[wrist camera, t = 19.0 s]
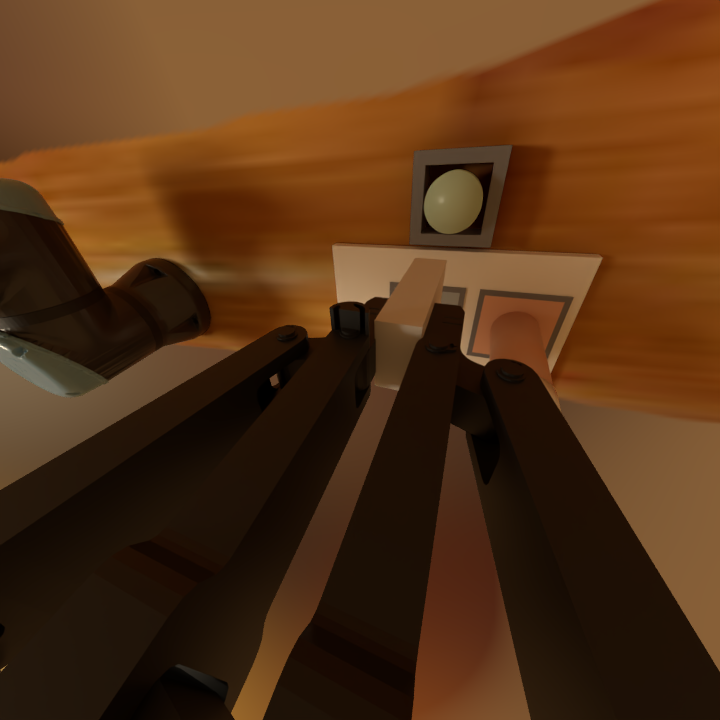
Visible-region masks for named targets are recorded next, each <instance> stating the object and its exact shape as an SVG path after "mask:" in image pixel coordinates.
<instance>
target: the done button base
mask: <svg viewBox="0 0 720 720" xmlns="http://www.w3.org/2000/svg"><path fill="white" fill-rule="evenodd" d="M511 150H512V145H502V146H485V147H469V148H453V149H436V150H420V151H414V163H413V182H412V202H411V222H410V241H409V244H412V245H437V246H461V247H486V248H490V247H491V243H492V238H493V233H494V229H495V224H496V219H497V215H498V210H499V205H500V201H501V196H502V191H503V187H504V182H505V177H506V173H507V168H508V163H509V159H510V154H511ZM488 162H494V164H493V169H492V175H491V180H490V185H489V191H488V196H487V201H486V206H485V212H484V217H483V222H482V228H466V229H465V230H463V231H461V232H458V233H454V234H444V233H441V232H438V231H437V230H435V229H434V228H432V227H425V226H426V216H425V212H424V201H425V197H426V194H427V191H428V189H429V177H430V165H443V164H465V163H488Z"/></svg>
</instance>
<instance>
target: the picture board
mask: <svg viewBox="0 0 720 720" xmlns="http://www.w3.org/2000/svg"><path fill="white" fill-rule="evenodd" d="M332 251H333V260H334V270H335V280H336V289H337V299H338V303H340V302H347V301H354V302H360V303H363V304H365V303H366V302H367V301H368V300H370V299H372V298H374V297H383V298H389V297H390V296H391V294H392V293H393V291H394V290H395V288H396V287H397V285H398V284H399V282H400V281H401V279H402V277H403V276H404V274H405V273H406V271H407V270H408V268H409V267H410V265H411V264H412V262H413V261H414V259H415V258H425V259H439V260H447V263H446V270H445V277H444V283H443V290H442V297H441V304H450V305H458V306H461V307H462V309H463V310H464V311H465V317H464V324H463V331H462V338H461V345H460V348H461V351H462V353H463V354H464V355H465V356H466V357H467V358H468V359H470V360H471V361H473V362H476V363H478V364H481V365H483V366H485V365H486V364H487V363H488V362H489V359H490V331H491V326H492V324H493V322H494V321H495V320H496V319H497V318H498V317H500V316H501V315H503V314H505V313H509V312H514V311H519V312H525V313H527V314H530V315H531V316H533V317H534V318H535V319H536V321H537V322H538V325H539V329H540V333H541V337H542V341H543V345H544V349H545V353H546V357H547V361H548V365H549V369H550V374H551V372H552V369H553V367H554V365H555V363H556V361H557V358H558V356H559V354H560V352H561V349H562V347H563V345H564V343H565V341H566V338H567V336H568V334H569V332H570V329H571V327H572V325H573V323H574V321H575V318H576V316H577V314H578V312H579V309H580V307H581V305H582V303H583V301H584V298H585V296H586V294H587V292H588V290H589V287H590V285H591V283H592V281H593V278H594V276H595V274H596V272H597V270H598V267H599V265H600V263H601V261H602V257H601V256H600V255H599V254H582V253H558V252H535V251H511V250H488V249H465V248H441V247H418V246H394V245H371V244H347V243H335V244H334V245H332Z"/></svg>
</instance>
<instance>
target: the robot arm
mask: <svg viewBox="0 0 720 720" xmlns="http://www.w3.org/2000/svg"><path fill="white" fill-rule="evenodd" d="M63 225H64V224H63V222H62V221H61V220H60V219H58V218H57V217H56V215H55V214H54V212H53V211H52V210H51V208H50V207H49V205H48V204H47V202H46V201H45V199H44V198H43V197H42V195H41V194H40V193H39V192H38V191H37V190H36V189H34V188H33V187H31V186H30V185H28V184H26V183H23V182H21V181H17V180H12V179H6V178H0V362H1V363H3V364H4V365H5V366H7V367H8V368H10V369H11V370H13V371H14V372H15V373H17V374H18V375H20V376H22V377H23V378H25V379H26V380H28V381H30V382H31V383H33V384H35V385H37V386H39V387H40V388H43V389H44V390H46V391H48V392H51V393H53V394H56V395H59V396H62V397H78V396H81V395H84V394H86V393H87V392H89V391H91V390H93V389H95V388H97V387H99V386H101V385H102V384H106V383H108V381H109V380H111V379H112V378H114V377H115V376H117V375H119V374H120V373H122V372H123V371H125V370H127V369H128V368H130V367H131V366H133V365H134V364H136V363H138V362H139V361H141V360H142V359H144V358H146V357H147V356H149V355H150V354H152V353H153V352H155V351H157V350H158V349H160V348H162V347H164V346H167V345H171V344H175V343H179V342H183V341H187V340H191V339H194V338H196V337H198V336H200V335H201V334H203V333H204V332H205V331H207V329H208V328H209V325H210V312H209V308H208V305H207V303H206V301H205V298H204V297H203V295H202V293H201V292H200V290H199V289H198V287H197V286H196V284H195V283H194V282H193V281H192V280H191V279H190V278H189V277H188V276H187V275H186V274H185V273H184V272H183V271H182V270H181V269H179V268H178V267H176V266H175V265H173V264H172V263H170V262H168V261H165V260H162V259H157V258H152V259H148V260H146V261H143V262H140V263H138V264H136V265H134V266H133V267H132V268H131V269H130V270H129V271H128V272H126V273H125V274H124V275H123V276H122V277H121V278H120V279H118V280H117V281H116V282H115V283H114V284H113V285H111V286H109V287H107V288H104V289H102V287H101V286H100V284H99V282H98V281H97V279H96V278H95V276H94V274H93V273H92V271H91V270H90V268H89V266H88V265H87V263H86V262H85V260H84V258H83V257H82V255H81V254H80V252H79V250H78V249H77V247H76V246H75V244H74V242H73V241H72V239H71V238H70V236H69V234H68V233H67V231H66V230H65V228H64V226H63ZM446 263H447V260H439V259H425V258H415V259H414V261H413V262H412V264H411V265H410V267H409V268H408V270H407V271H406V273H405V274H404V276H403V277H402V279H401V281H400V282H399V284H398V285H397V287H396V288H395V290H394V291H393V293H392V294H391V296H390V297H389V298H383V297H374V298H372V299H370V300H368V301H367V302H366V303H365V304H363V303H360V302H354V301H347V302H340V303H337V304H334V305H333V306H331V307H330V317H331V326H332V330H331V332H330V333H329V334H328V335H327V336H326V337H324V338H308V334H307V331H306V329H305V328H303V327H301V326H296V325H286V326H283V327H279V328H277V329H275V330H273V331H271V332H269V333H268V334H266V335H264V336H263V337H261V338H259V339H257V340H256V341H254V342H252V343H251V344H249V345H247V346H245V347H244V348H242V349H240V350H239V351H237V352H235V353H234V354H232V355H230V356H228V357H227V358H225V359H223V360H222V361H220V362H218V363H216V364H215V365H213V366H211V367H210V368H208V369H206V370H205V371H203V372H201V373H200V374H198V375H196V376H195V377H193V378H191V379H189V380H187V381H186V382H184V383H182V384H181V385H179V386H177V387H176V388H174V389H172V390H170V391H169V392H167V393H166V394H164V395H162V396H160V397H158V398H157V399H155V400H154V401H152V402H150V403H148V404H147V405H145V406H143V407H141V408H140V409H138V410H136V411H135V412H133V413H131V414H130V415H128V416H126V417H124V418H123V419H121V420H119V421H117V422H116V423H114V424H112V425H111V426H109V427H107V428H106V429H104V430H102V431H100V432H99V433H97V434H95V435H94V436H92V437H90V438H89V439H87V440H85V441H83V442H82V443H80V444H78V445H77V446H75V447H73V448H72V449H70V450H68V451H66V452H65V453H63V454H61V455H59V456H58V457H56V458H54V459H53V460H51V461H49V462H48V463H46V464H44V465H42V466H41V467H39V468H37V469H36V470H34V471H32V472H31V473H29V474H27V475H25V476H24V477H22V478H20V479H19V480H17V481H15V482H13V483H12V484H10V485H8V486H7V487H5V488H3V489H2V490H0V669H2V668H3V667H5V666H6V665H7V666H6V667H5V668H4V669H3V670H2V671H1V670H0V720H235V719H234V718H233V716H232V715H231V712H232V709H233V707H234V705H235V703H236V701H237V698H238V696H239V694H240V692H241V689H242V687H243V685H244V683H245V681H246V679H247V676H248V674H249V672H250V670H251V668H252V665H253V663H254V660H255V658H256V655H257V653H258V650H259V647H260V643H261V640H262V635H263V628H264V622H265V619H266V616H267V613H268V611H269V608H270V606H271V604H272V602H273V599H274V598H275V595H276V593H277V591H278V589H279V587H280V585H281V583H282V581H283V578H284V576H285V574H286V572H287V570H288V568H289V565H290V563H291V561H292V559H293V557H294V555H295V553H296V551H297V549H298V547H299V544H300V542H301V540H302V538H303V536H304V534H305V532H306V530H307V528H308V525H309V523H310V521H311V519H312V517H313V515H314V513H315V510H316V508H317V506H318V504H319V502H320V500H321V498H322V495H323V494H324V491H325V489H326V487H327V485H328V483H329V481H330V479H331V477H332V474H333V472H334V470H335V468H336V466H337V464H338V462H339V460H340V458H341V455H342V453H343V451H344V449H345V447H346V445H347V443H348V441H349V438H350V436H351V434H352V432H353V430H354V428H355V426H356V423H357V421H358V419H359V417H360V415H361V413H362V411H363V409H364V407H365V404H366V402H367V400H368V398H369V396H370V392H371V381H372V379H373V377H374V375H375V386H379V387H384V388H389V389H393V390H398V393H397V396H396V399H395V402H394V404H393V407H392V410H391V412H390V415H389V417H388V420H387V423H386V425H385V428H384V431H383V434H382V436H381V439H380V442H379V444H378V447H377V450H376V453H375V455H374V458H373V460H372V463H371V466H370V469H369V471H368V474H367V476H366V480H365V482H364V485H363V487H362V490H361V493H360V495H359V498H358V501H357V503H356V506H355V509H354V511H353V514H352V517H351V520H350V522H349V525H348V527H347V530H346V533H345V536H344V538H343V541H342V544H341V547H340V549H339V552H338V554H337V557H336V560H335V562H334V565H333V568H332V571H331V573H330V576H329V578H328V581H327V584H326V586H325V589H324V592H323V595H322V597H321V600H320V602H319V605H318V607H317V610H316V612H315V614H314V616H313V618H312V620H311V622H310V623H309V624H308V626H307V627H306V628H305V630H304V631H303V632H302V634H301V635H300V636H299V638H298V640H297V642H296V643H295V645H294V648H293V649H292V651H291V653H290V655H289V657H288V659H287V662H286V664H285V666H284V668H283V671H282V673H281V676H280V678H279V680H278V682H277V685H276V688H275V690H274V692H273V695H272V698H271V700H270V703H269V705H268V708H267V710H266V713H265V716H264V718H263V720H411V719H412V709H413V700H414V685H415V684H414V683H415V671H416V662H417V655H418V647H419V640H420V633H421V626H422V619H423V612H424V604H425V598H426V591H427V584H428V577H429V570H430V563H431V556H432V549H433V541H434V535H435V528H436V521H437V514H438V506H439V500H440V493H441V486H442V479H443V472H444V464H445V457H446V451H447V443H448V436H449V429H450V423H451V424H453V425H455V426H457V427H459V428H461V429H463V430H465V431H466V439H467V444H468V448H469V452H470V457H471V461H472V465H473V470H474V474H475V478H476V483H477V487H478V492H479V496H480V500H481V505H482V509H483V513H484V518H485V522H486V526H487V531H488V535H489V539H490V543H491V548H492V552H493V557H494V561H495V565H496V570H497V573H498V578H499V582H500V587H501V591H502V596H503V600H504V604H505V609H506V613H507V617H508V621H509V626H510V631H511V635H512V639H513V644H514V648H515V652H516V657H517V661H518V665H519V670H520V674H521V678H522V683H523V687H524V691H525V695H526V700H527V704H528V709H529V713H530V717H531V720H720V672H719V670H718V668H717V667H716V665H715V664H714V662H713V660H712V659H711V657H710V655H709V654H708V652H707V650H706V649H705V647H704V645H703V644H702V642H701V640H700V639H699V637H698V636H697V634H696V632H695V631H694V629H693V628H692V626H691V624H690V623H689V621H688V619H687V618H686V616H685V614H684V613H683V611H682V610H681V608H680V606H679V605H678V603H677V601H676V600H675V598H674V596H673V595H672V593H671V591H670V590H669V588H668V587H667V585H666V583H665V582H664V580H663V578H662V577H661V575H660V573H659V572H658V570H657V569H656V567H655V565H654V564H653V562H652V561H651V559H650V557H649V555H648V554H647V552H646V551H645V549H644V547H643V546H642V544H641V542H640V541H639V539H638V538H637V536H636V534H635V533H634V531H633V530H632V528H631V526H630V524H629V523H628V521H627V520H626V518H625V516H624V515H623V513H622V511H621V510H620V508H619V507H618V505H617V503H616V502H615V500H614V498H613V497H612V495H611V493H610V492H609V491H608V488H607V487H606V485H605V484H604V482H603V480H602V479H601V477H600V475H599V474H598V472H597V471H596V469H595V467H594V466H593V464H592V462H591V461H590V459H589V457H588V456H587V454H586V453H585V451H584V449H583V448H582V446H581V444H580V443H579V441H578V439H577V438H576V436H575V435H574V433H573V432H572V430H571V428H570V426H569V425H568V423H567V421H566V420H565V418H564V417H563V415H562V413H561V412H560V410H559V408H558V407H557V405H556V403H555V402H554V400H553V399H552V397H551V395H550V394H549V392H548V390H547V389H546V387H545V385H544V384H543V382H542V381H541V379H540V377H539V376H538V374H537V373H536V372H535V371H534V370H533V369H532V368H531V367H529V366H527V365H526V364H524V363H521V362H519V361H516V360H511V359H504V358H503V359H494V360H491V361H489V362H488V363H487V364H486V365H485V366H483V365H481V364H478V363H476V362H473V361H471V360H470V359H468V358H467V357H466V356H465V355H464V354H463V353H462V351H461V348H460V345H461V338H462V331H463V324H464V317H465V311H464V310H463V309H462V307H461V306H458V305H450V304H441V297H442V290H443V283H444V277H445V270H446ZM275 374H277V378H278V381H279V383H278V384H277V385H274V386H271V382H270V379H269V378H270V377H272V376H273V375H275Z"/></svg>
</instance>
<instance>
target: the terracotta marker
mask: <svg viewBox="0 0 720 720" xmlns="http://www.w3.org/2000/svg"><path fill="white" fill-rule="evenodd" d="M503 358H504V359H511V360H516V361H519V362H521V363H524V364H526V365H527V366H529V367H531V368H532V369H533V370H534V371H535V372H536V373H537V374H538V376H539V377H540V379H541V381H542V382H543V384H544V385H545V387H546V389H547V390H548V392H549V394H550V395H551V397H552V399H553V400H554V402H555V403H556V405H557V407H558V408H559V410H560V412H561V408H560V404H559V400H558V396H557V392H556V390H555V388H554V386H553V382H552V378H551V374H550V369H549V365H548V361H547V357H546V353H545V349H544V345H543V341H542V337H541V333H540V329H539V325H538V322H537V321H536V319H535V318H534V317H533V316H531V315H530V314H527V313H525V312H519V311H514V312H509V313H505V314H503V315H501V316H500V317H498V318H497V319H496V320H495V321H494V322H493V324H492V326H491V331H490V359H489V361H491V360H494V359H503ZM561 413H562V412H561Z"/></svg>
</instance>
